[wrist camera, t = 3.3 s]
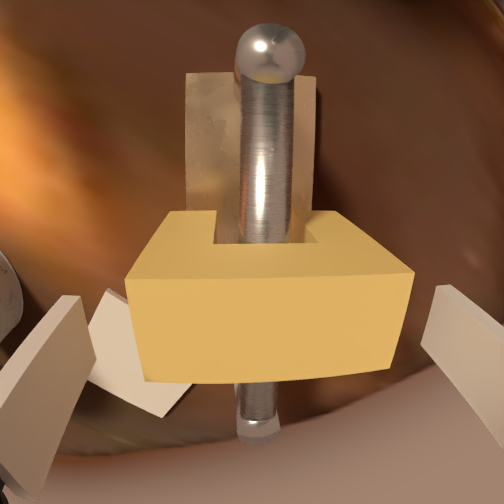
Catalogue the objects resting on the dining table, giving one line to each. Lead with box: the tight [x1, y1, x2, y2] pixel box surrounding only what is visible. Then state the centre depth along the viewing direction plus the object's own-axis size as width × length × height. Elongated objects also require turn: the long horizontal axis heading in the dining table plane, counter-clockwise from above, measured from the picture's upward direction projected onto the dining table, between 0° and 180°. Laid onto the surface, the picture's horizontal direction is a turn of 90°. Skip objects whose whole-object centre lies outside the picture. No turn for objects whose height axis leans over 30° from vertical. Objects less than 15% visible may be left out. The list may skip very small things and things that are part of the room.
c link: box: [125, 210, 415, 384], centre depth 14 cm, size 9×4×8 cm, turn 89°
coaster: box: [87, 288, 192, 418], centre depth 25 cm, size 10×10×1 cm
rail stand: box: [185, 23, 316, 445], centre depth 17 cm, size 20×8×10 cm, turn 179°
